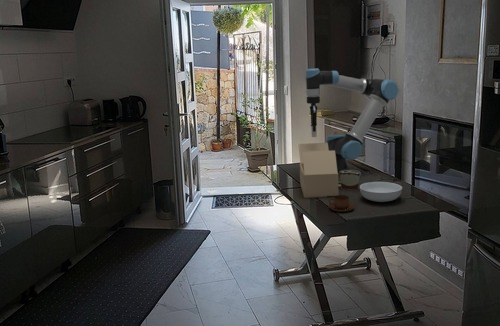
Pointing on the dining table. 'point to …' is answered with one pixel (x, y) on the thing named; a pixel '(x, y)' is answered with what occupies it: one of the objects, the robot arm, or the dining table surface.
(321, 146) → the flap
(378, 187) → the serving bowl
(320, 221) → the dining table surface
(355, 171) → the food container
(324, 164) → the flap
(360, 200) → the dining table surface
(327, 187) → the carton
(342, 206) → the cup and saucer
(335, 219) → the dining table surface
